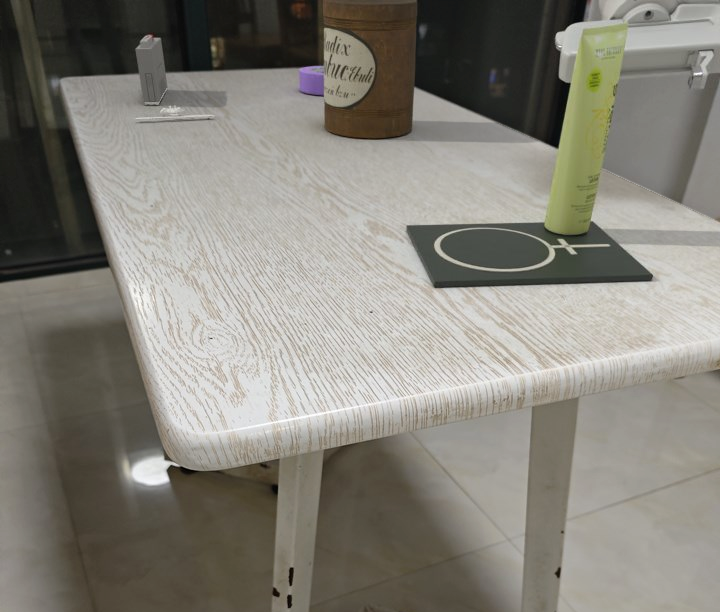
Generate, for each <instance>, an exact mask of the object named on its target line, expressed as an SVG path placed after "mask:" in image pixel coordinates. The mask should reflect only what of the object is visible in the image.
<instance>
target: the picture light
mask: <svg viewBox="0 0 720 612" xmlns="http://www.w3.org/2000/svg"><path fill="white" fill-rule="evenodd" d="M176 106H177V105H173V107H174V108H173V107H172V106H171V105H169V108H167V107H163V108H162V109H161V110H160V114H161V115H162V114H170V115H169V116H151V117H150V116H149V117H148V116H147V117H136V118H135V119H150V118H151V119H152V118H154V119H155V118H186V117H214V118H216V115H215V114H193V115H192V114H191V115H181V116H179V115H178V114H179V113H183V114H185V110H184V109H183V108H181V107H179V106H178V107H176Z"/></svg>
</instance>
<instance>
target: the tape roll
mask: <svg viewBox="0 0 720 612" xmlns="http://www.w3.org/2000/svg"><path fill="white" fill-rule="evenodd" d="M298 72H299V91H300V92H301V93H304V94H308V95H314V96H324V65H312V66H305V67H301V68H299V71H298Z"/></svg>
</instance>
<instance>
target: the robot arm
mask: <svg viewBox="0 0 720 612" xmlns="http://www.w3.org/2000/svg"><path fill="white" fill-rule="evenodd" d="M597 1H598V2H597V3H598V9H599V13H600V16H601V20H592V21H580V22H575V23H572V24H570V25H569V26H567V27H566V29H565V30H562V31H558V32H557V33H556V34H555V37H554V44H555V48H556V49H557V50H558V51H559V52H560V55H559V65H558V78H559V80H561V81H563V82H565V83H566V84H567V83H568V84H571V81H572V76H573V71H574V66H575V61H576V56H577V51H578V46H579V42H580V38H581V35H582V31H583V28H593V27H600V26H607V25H614V24H620V23H626V22H628V30H627V37H626V43H625V49H624V55H623V60H622V66H621V71H620V76H619V80H633V79H648V78H649V79H650V78H663V77H664V78H665V77H677V76H678V77H679V76H688V80H687V86H688V89H689V90H704V88H705V86H706V83H707V79H708V76H709V75H710V74H720V0H597ZM616 94H617V92H616Z"/></svg>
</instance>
